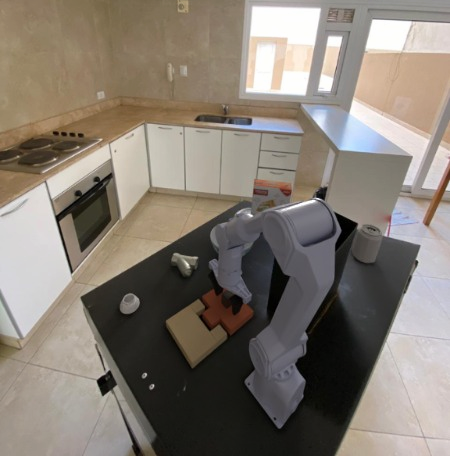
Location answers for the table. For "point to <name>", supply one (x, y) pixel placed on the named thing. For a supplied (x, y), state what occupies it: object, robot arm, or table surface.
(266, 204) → the cracker box
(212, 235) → the chinaware
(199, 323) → the sand pad
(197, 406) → the table surface
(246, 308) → the terracotta pad
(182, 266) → the pipe fitting
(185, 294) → the table surface
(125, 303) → the white jar
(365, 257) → the can
